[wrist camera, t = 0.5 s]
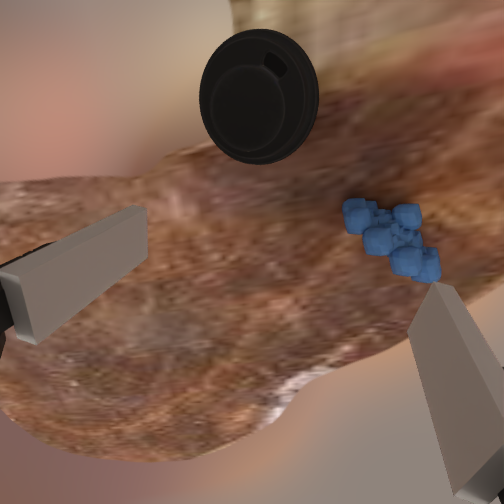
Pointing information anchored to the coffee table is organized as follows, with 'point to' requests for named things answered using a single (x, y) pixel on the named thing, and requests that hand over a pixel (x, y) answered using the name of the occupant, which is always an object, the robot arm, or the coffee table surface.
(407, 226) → the grapes
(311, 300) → the coffee table surface
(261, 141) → the coffee cup
